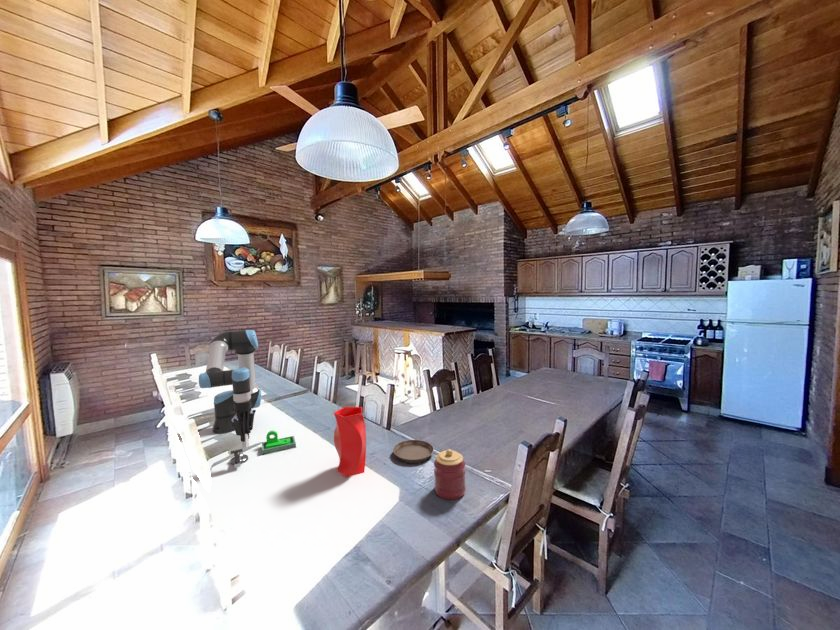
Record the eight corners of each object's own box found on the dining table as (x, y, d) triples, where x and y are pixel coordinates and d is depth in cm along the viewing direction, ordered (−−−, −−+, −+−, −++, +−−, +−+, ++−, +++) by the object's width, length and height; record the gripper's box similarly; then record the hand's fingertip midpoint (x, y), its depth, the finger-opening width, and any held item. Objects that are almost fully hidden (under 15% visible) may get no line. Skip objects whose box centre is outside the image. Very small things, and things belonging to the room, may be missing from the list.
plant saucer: (439, 449, 171) (439, 443, 170) (423, 469, 152) (423, 462, 152) (405, 442, 180) (405, 437, 179) (385, 460, 161) (385, 454, 161)
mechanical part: (266, 450, 174) (265, 435, 173) (267, 445, 180) (266, 431, 179) (290, 446, 178) (289, 431, 178) (290, 441, 184) (289, 427, 183)
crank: (233, 457, 165) (232, 442, 165) (244, 454, 167) (243, 440, 167) (231, 468, 154) (230, 452, 154) (243, 465, 156) (242, 450, 156)
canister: (457, 504, 126) (456, 460, 125) (428, 494, 133) (427, 452, 131) (470, 486, 137) (470, 446, 135) (443, 478, 144) (442, 439, 142)
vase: (372, 464, 157) (370, 407, 156) (357, 480, 144) (354, 419, 142) (345, 459, 162) (343, 405, 161) (328, 475, 149) (325, 415, 147)
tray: (262, 446, 179) (261, 442, 179) (293, 439, 187) (293, 435, 187) (262, 454, 170) (262, 450, 170) (296, 447, 177) (295, 443, 177)
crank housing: (230, 459, 166) (230, 456, 166) (248, 455, 170) (248, 453, 170) (229, 466, 159) (229, 463, 159) (247, 462, 163) (247, 459, 163)
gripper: (247, 395, 165) (250, 439, 167) (224, 404, 153) (228, 451, 155) (259, 396, 163) (261, 441, 165) (236, 405, 150) (240, 454, 152)
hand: (245, 446), depth 160 cm, fingers closed
